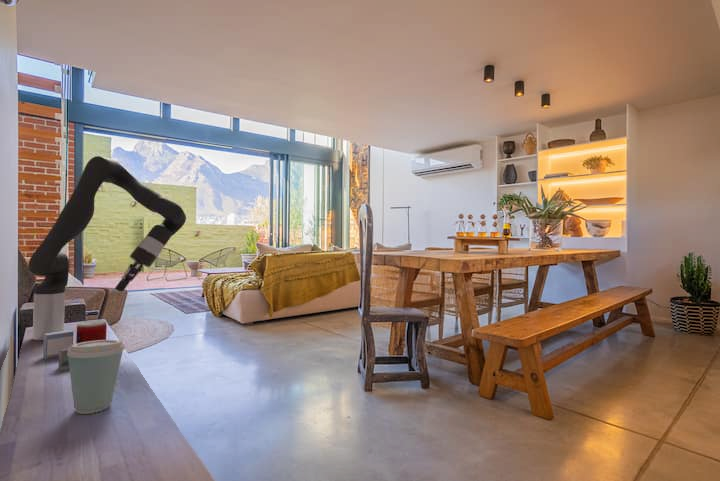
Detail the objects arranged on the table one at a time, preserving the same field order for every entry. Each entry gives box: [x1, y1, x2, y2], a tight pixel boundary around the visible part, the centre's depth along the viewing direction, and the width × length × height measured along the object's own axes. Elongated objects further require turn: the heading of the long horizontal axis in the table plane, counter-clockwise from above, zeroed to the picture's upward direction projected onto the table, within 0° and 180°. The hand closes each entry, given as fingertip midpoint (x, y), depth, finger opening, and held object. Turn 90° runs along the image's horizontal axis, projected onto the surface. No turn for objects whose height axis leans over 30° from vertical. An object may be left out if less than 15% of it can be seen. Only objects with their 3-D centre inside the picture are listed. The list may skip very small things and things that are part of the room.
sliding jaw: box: [42, 329, 74, 360], centre depth 123 cm, size 9×7×8 cm
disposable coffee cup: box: [67, 339, 125, 415], centre depth 84 cm, size 11×11×15 cm
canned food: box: [75, 319, 108, 344], centre depth 122 cm, size 8×8×11 cm
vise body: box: [58, 347, 71, 373], centre depth 111 cm, size 6×8×6 cm
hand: (118, 290), depth 130 cm, fingers open, 8 cm apart
